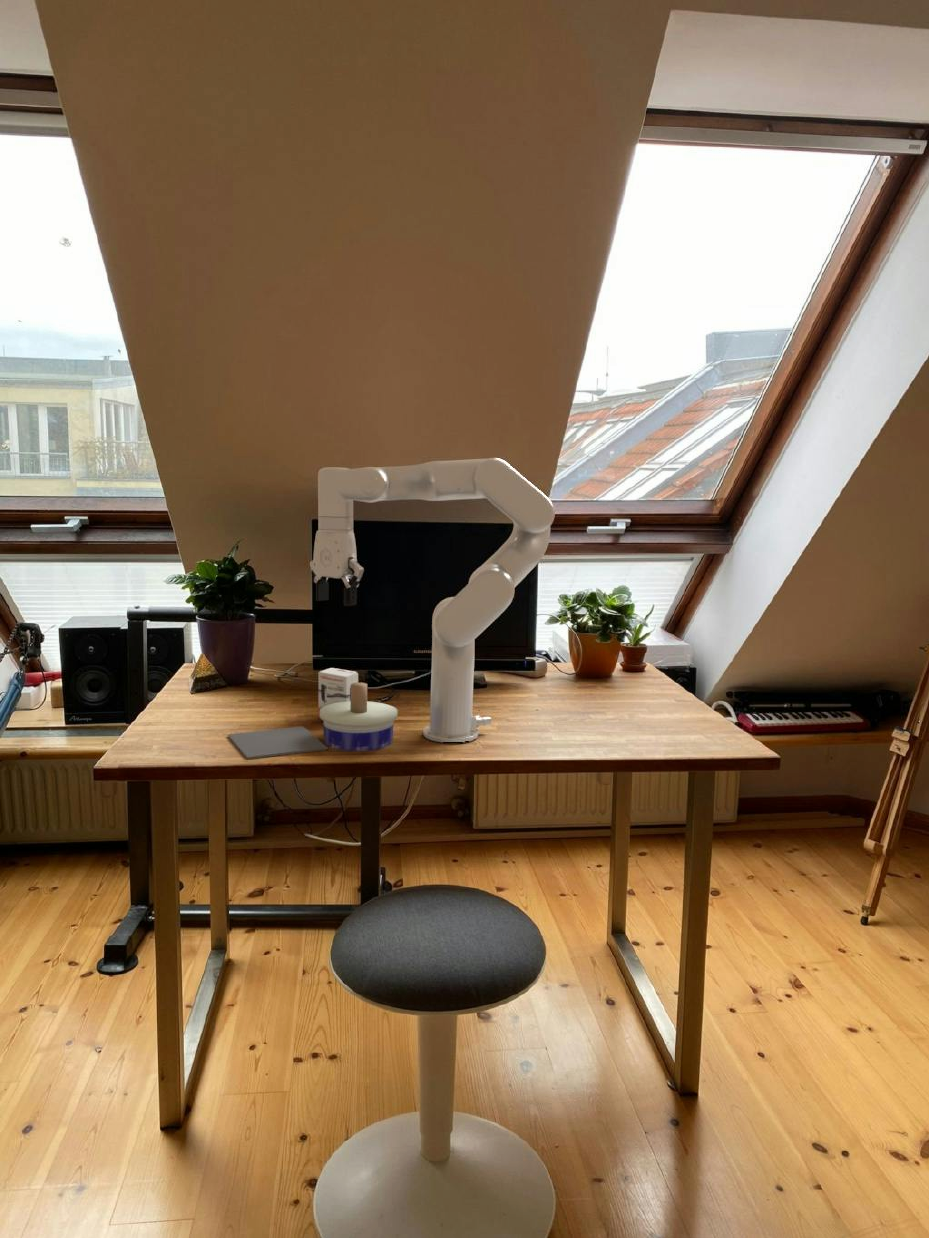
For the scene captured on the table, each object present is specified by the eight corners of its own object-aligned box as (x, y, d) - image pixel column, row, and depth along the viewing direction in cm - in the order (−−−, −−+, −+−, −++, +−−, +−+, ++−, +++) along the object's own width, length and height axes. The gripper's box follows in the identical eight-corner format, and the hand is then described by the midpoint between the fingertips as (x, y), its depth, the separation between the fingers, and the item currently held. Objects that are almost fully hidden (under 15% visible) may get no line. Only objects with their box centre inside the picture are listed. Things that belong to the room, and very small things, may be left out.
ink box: (317, 718, 207) (317, 670, 205) (330, 714, 211) (330, 667, 209) (346, 724, 202) (346, 675, 201) (358, 720, 207) (359, 671, 205)
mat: (302, 728, 198) (302, 726, 198) (327, 749, 184) (327, 747, 184) (227, 736, 190) (227, 734, 190) (247, 759, 176) (247, 757, 176)
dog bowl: (320, 732, 196) (320, 707, 195) (387, 730, 200) (388, 705, 199) (326, 754, 182) (326, 726, 181) (398, 751, 185) (398, 723, 184)
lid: (378, 702, 201) (379, 673, 200) (410, 721, 187) (410, 689, 185) (308, 709, 193) (308, 679, 192) (335, 730, 178) (336, 697, 177)
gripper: (297, 523, 191) (298, 600, 193) (347, 527, 179) (347, 609, 182) (324, 522, 196) (325, 597, 199) (375, 526, 184) (374, 606, 187)
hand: (336, 602), depth 190 cm, fingers open, 9 cm apart
